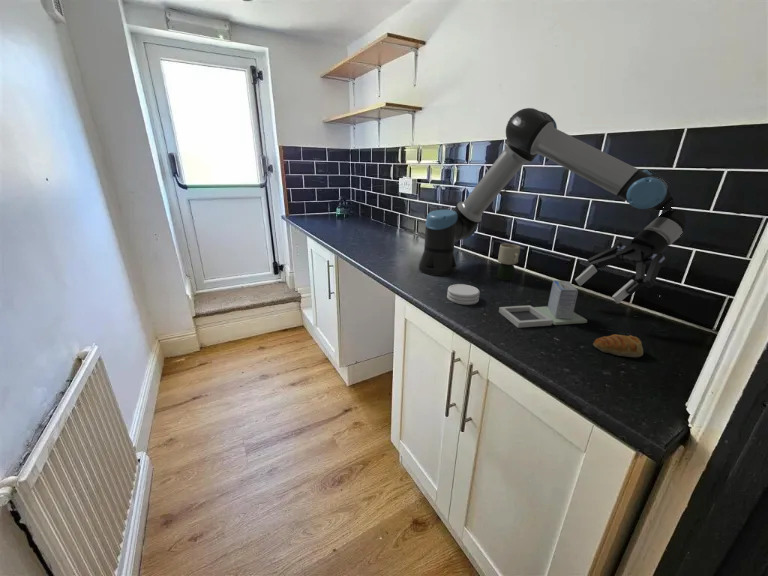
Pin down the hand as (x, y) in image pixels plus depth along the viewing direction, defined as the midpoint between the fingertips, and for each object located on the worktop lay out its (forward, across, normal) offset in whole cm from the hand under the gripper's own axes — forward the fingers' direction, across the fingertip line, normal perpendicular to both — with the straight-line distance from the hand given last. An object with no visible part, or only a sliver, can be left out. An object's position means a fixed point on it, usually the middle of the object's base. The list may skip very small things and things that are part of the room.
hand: (595, 290), depth 93 cm
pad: (+12, 0, +2) cm, 12 cm away
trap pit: (+20, 0, +10) cm, 22 cm away
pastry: (+12, -19, 0) cm, 22 cm away
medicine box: (+12, 0, +2) cm, 12 cm away
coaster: (+28, +16, +18) cm, 37 cm away
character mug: (+11, +32, +1) cm, 34 cm away
